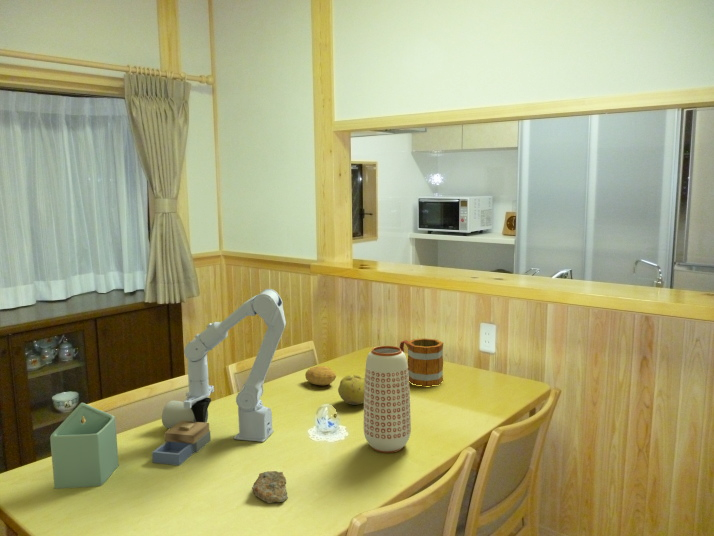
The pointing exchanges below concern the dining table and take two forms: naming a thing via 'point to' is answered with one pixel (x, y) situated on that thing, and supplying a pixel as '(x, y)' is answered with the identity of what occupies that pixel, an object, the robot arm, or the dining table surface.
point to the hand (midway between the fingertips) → (200, 423)
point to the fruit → (352, 389)
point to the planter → (84, 449)
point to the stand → (202, 442)
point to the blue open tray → (172, 453)
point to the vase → (387, 399)
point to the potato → (320, 375)
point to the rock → (270, 487)
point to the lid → (187, 432)
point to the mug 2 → (424, 361)
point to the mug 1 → (177, 414)
